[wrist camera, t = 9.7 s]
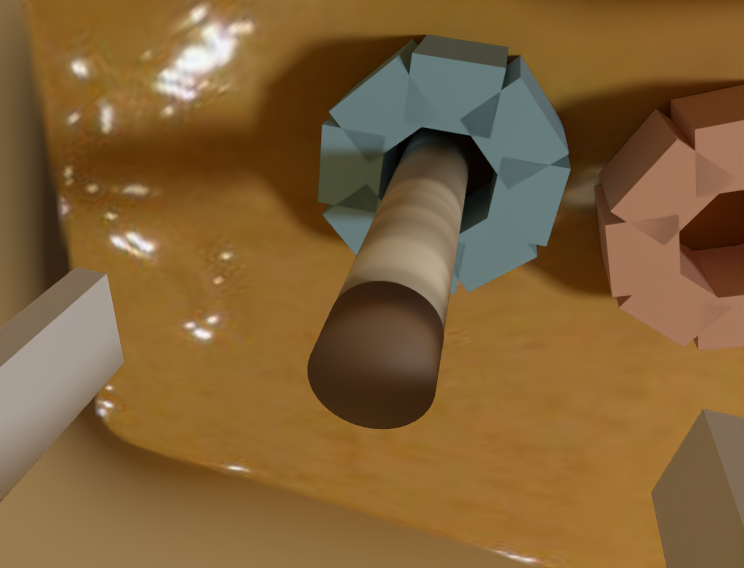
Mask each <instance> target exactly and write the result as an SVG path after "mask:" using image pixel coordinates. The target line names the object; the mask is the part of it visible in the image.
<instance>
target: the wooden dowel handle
mask: <svg viewBox="0 0 744 568" xmlns="http://www.w3.org/2000/svg"><path fill="white" fill-rule="evenodd" d="M470 161H471V146H470V143H469V140H468V138H467V137H466V135H465V134H459V133H453V132H448V131H442V130H436V129H431V128H425V127H421V128H419V129H418V130H416V131H415V132H414V133H413V135H412V136H411V138H410V140H409V142H408V144H407V146H406V149H405V151H404V153H403V155H402V157H401V160H400V162H399V164H398V166H397V168H396V171H395V173H394V175H393V177H392V179H391V181H390V184H389V186H388V188H387V190H386V192H385V195H384V197H383V199H382V201H381V203H380V206H379V208H378V210H377V212H376V214H375V217H374V219H373V221H372V223H371V225H370V228H369V230H368V232H367V234H366V236H365V239H364V241H363V243H362V245H361V247H360V250H359V252H358V254H357V256H356V258H355V261H354V263H353V265H352V267H351V269H350V271H349V274H348V276H347V278H346V280H345V282H344V285H343V287H342V289H341V291H340V293H339V296H338V298H337V300H336V302H335V303H334V305H333V307H332V309H331V311H330V313H329V316H328V318H327V320H326V322H325V324H324V327H323V329H322V331H321V333H320V335H319V338H318V340H317V342H316V344H315V346H314V348H313V351H312V353H311V355H310V358H309V361H308V367H307V369H308V379H309V382H310V385H311V388H312V390H313V392H314V394H315V395H316V397H317V398H318V399H319V400H320V402H321V403H322V404H323V405H324V406H325V407H326V408H327V409H328V410H330V411H331V412H332V413H334V414H335V415H337V416H338V417H340V418H342V419H344V420H346V421H348V422H350V423H353V424H355V425H359V426H362V427H367V428H373V429H392V428H398V427H402V426H405V425H408V424H410V423H412V422H414V421H416V420H417V419H419V418H420V417H422V416H423V415H424V414H425V413H426V412H427V411H428V409H429V408H430V406H431V404H432V403H433V400H434V397H435V392H436V386H437V379H438V373H439V366H440V359H441V353H442V346H443V340H444V328H445V322H446V316H447V309H448V303H449V296H450V290H451V283H452V277H453V270H454V264H455V258H456V251H457V245H458V238H459V232H460V225H461V219H462V213H463V206H464V200H465V193H466V187H467V180H468V174H469V167H470Z"/></svg>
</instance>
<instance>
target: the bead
mask: <svg viewBox="0 0 744 568" xmlns="http://www.w3.org/2000/svg"><path fill="white" fill-rule="evenodd" d="M507 55H508V47H503V46H496V45H490V44H483V43H477V42H470V41H464V40H458V39H451V38H445V37H438V36H432V35H427V36H426V37H425V38H424V39H423V40H422V42H421V43H420V44H419V45H417V44H416V42H415V41H414V39H412V40H411V41H410V42H408V43H407V44H406V45H405V46H403V47H402V48H401V49H400V50H398V51H397V52H396V53H395V54H394V55H392V56H391V57H390V58H389V59H387V60H386V61H385V62H384V63H382V64H381V65H380V66H379V67H377V68H376V69H375V70H374V71H372V72H371V73H370V74H369V75H368V76H366V77H365V78H364V79H363V80H361V81H360V82H359V83H358V84H356V85H355V86H354V87H353V88H352V89H351V90H350V91H349V92H348V93H347V94H346V95H345V96H344V97H343V98H342V99H341V100H340V101H339V102H338V103H337V104H336V105H335V106H334V107H333V108H332V109H331V110H330V111H329V113H330V114H331V116H330V117H329V118H328V119H327V120H326V121H325V122H324V123H323V124H322V137H321V154H320V171H319V188H318V202H321V203H326V204H329V205H328V206H327V208H326V209H325V211H324V212H323V214H322V215H323V216H324V217H325V219H326V220H327V221H328V222H329V223H330V225H331V226H332V227H333V228H334V229H335V231H336V232H337V233H338V234H339V235H340V237H341V238H342V239H343V240H344V241H345V243H346V244H347V245H348V246H349V247H350V249H351V250H352V251H353V252H354V253H355V255H356V256H357V254H358V252H359V250H360V247H361V245H362V243H363V241H364V239H365V236H366V234H367V232H368V230H369V228H370V225H371V223H372V221H373V219H374V217H375V214H376V212H377V210H378V208H379V206H380V203H381V201H382V199H383V197H384V195H385V192H386V190H387V188H388V186H389V184H390V181H391V179H392V177H393V175H394V173H395V171H396V168H397V165H396V164H395V162H396V155H397V147H398V143H400V142H401V141H402V140H404V139H405V138H407V137H408V136H409V135H411V134H412V133H414V132H415V131H416V130H418V129H419V128H421V127H425V128H431V129H436V130H442V131H448V132H453V133H459V134H465V135H471V137H472V138H473V140H474V141H475V143H476V144H477V145H478V147H479V148H480V150H481V151H482V153H483V154H484V155H485V157H486V158H487V160H488V161H489V163H490V164H491V166H492V167H493V168H494V173H493V177H492V181H491V182H490V183H488V184H486V185H485V186H483V187H482V188H480V189H478V190H477V191H475V192H473V193H472V194H470V195H468V196H467V197H465V200H464V206H463V213H462V219H461V225H460V232H459V238H458V245H457V251H456V258H455V264H454V270H453V277H452V283H451V290H450V293H453V294H455V292H456V287H457V283H458V279H459V281H460V282H461V283H462V285H463V286H464V287H465V288H466V290H467V291H468V292H470V291H472V290H474V289H476V288H478V287H480V286H482V285H484V284H486V283H488V282H489V281H491V280H493V279H495V278H497V277H499V276H501V275H503V274H505V273H507V272H509V271H511V270H513V269H515V268H517V267H519V266H521V265H522V264H524V263H526V262H528V261H530V260H532V259H534V258H536V257H537V246H536V245H541V246H547V243H548V240H549V237H550V233H551V230H552V227H553V224H554V221H555V218H556V214H557V211H558V208H559V205H560V202H561V199H562V195H563V192H564V189H565V186H566V183H567V180H568V176H569V173H570V170H571V167H570V162H569V157H568V154H569V151H568V146H567V141H566V137H565V132H564V127H563V122H562V121H561V119H560V118H559V116H558V114H557V113H556V111H555V110H554V108H553V106H552V105H551V103H550V102H549V100H548V98H547V97H546V95H545V94H544V92H543V91H542V89H541V87H540V86H539V84H538V83H537V81H536V79H535V78H534V76H533V75H532V73H531V71H530V70H529V68H528V67H527V65H526V63H525V62H524V60H523V59H522V57H521V55H520V56H519V57H518V58H516V59H515V60H513V61H512V62H511V63H509V64H508V65H507Z"/></svg>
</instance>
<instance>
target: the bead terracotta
mask: <svg viewBox="0 0 744 568" xmlns="http://www.w3.org/2000/svg"><path fill="white" fill-rule="evenodd" d="M670 101H671V119H670V118H669V117H667V116H666V115H664V114H663V113H661V112H660V111H658V110H657V109H655V110H654V111H653V112H652V113H651V114H650V116H649V117H648V118H647V119H646V120H645V121H644V122H643V124H642V125H641V126H640V127H639V128H638V129H637V131H636V132H635V133H634V134H633V135H632V136H631V137H630V139H629V140H628V141H627V142H626V143H625V144H624V146H623V147H622V148H621V149H620V150H619V151H618V152H617V154H616V155H615V156H614V157H613V158H612V159H611V160H610V162H609V163H608V164H607V165H606V166H605V167H604V169H603V170H602V171H601V172H600V173H599V176H600V179H601V183H602V185H600V186H595V197H596V207H597V216H598V226H599V236H600V245H601V253H602V257H603V262H604V266H605V270H606V274H607V278H608V282H609V286H610V290H611V294H612V297H617V301H618V305H619V308H620V309H622V310H624V311H625V312H627V313H629V314H630V315H632V316H633V317H635V318H637V319H638V320H640V321H642V322H643V323H645V324H646V325H648V326H650V327H651V328H653V329H655V330H656V331H658V332H659V333H661V334H663V335H664V336H666V337H668V338H669V339H671V340H672V341H674V342H676V343H677V344H679V345H681V346H682V347H684V346H686V345H687V344H688V343H689V342H691V341H692V340H693V339H694V341H695V344H696V346H697V349H698V350H709V349H721V348H734V347H744V242H743V243H742V244H741V245H734V246H727V247H719V248H711V249H704V250H696V251H693V250H692V249H690V248H688V247H687V246H685V245H684V244H682V243H681V242H679V231H680V230H682V229H683V228H684V227H685V226H686V225H687V224H688V223H689V222H690V221H691V220H692V219H693V218H694V217H695V216H696V215H697V214H698V213H699V212H700V211H701V210H702V209H703V208H704V207H705V206H706V205H708V204H709V203H710V202H711V201H712V200H713V199H714V198H715V197H716V196H717V195H718V194H720V193H726V192H733V191H739V190H744V85H739V86H735V87H730V88H725V89H720V90H715V91H711V92H706V93H701V94H696V95H691V96H687V97H682V98H677V99H672V100H670Z"/></svg>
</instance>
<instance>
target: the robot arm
mask: <svg viewBox="0 0 744 568" xmlns="http://www.w3.org/2000/svg"><path fill="white" fill-rule="evenodd" d="M123 363H124V360H123V355H122V350H121V345H120V339H119V334H118V329H117V324H116V319H115V314H114V309H113V304H112V299H111V293H110V288H109V283H108V278H107V274H105V273H101V272H96V271H92V270H88V269H83V268H79V267H76V268H75V269H73V270H72V271H71V272H70V273H68V274H67V275H66V276H65V277H63V278H62V279H61V280H60V281H58V282H57V283H56V284H55V285H53V286H52V287H51V288H50V289H48V290H47V291H46V292H45V293H43V294H42V295H41V296H40V297H39V298H37V299H36V300H35V301H34V302H32V303H31V304H30V305H29V306H27V307H26V308H25V309H24V310H23V311H21V312H20V313H19V314H17V315H16V316H15V317H14V318H12V319H11V320H10V321H9V322H7V323H6V324H5V325H4V326H2V327H1V328H0V502H1V501H2V500H3V499H4V498H5V497H6V496H7V495H8V494H9V492H10V491H11V490H12V489H13V488H14V487H15V486H16V485H17V483H18V482H19V481H20V480H21V479H22V478H23V477H24V475H25V474H26V473H27V472H28V471H29V470H30V469H31V467H32V466H33V465H34V464H35V463H36V462H37V461H38V460H39V458H40V457H41V456H42V455H43V454H44V453H45V452H46V450H47V449H48V448H49V447H50V446H51V445H52V443H54V441H55V440H56V439H57V438H58V437H59V436H60V435H61V433H62V432H63V431H64V430H65V429H66V428H67V427H68V425H69V424H70V423H71V422H72V421H73V420H74V419H75V418H76V416H77V415H78V414H79V413H80V412H81V411H82V410H83V408H84V407H85V406H86V405H87V404H88V403H89V402H90V400H91V399H92V398H93V397H94V396H95V395H96V394H97V393H98V391H99V390H100V389H101V388H102V387H103V386H104V385H105V384H106V382H107V381H108V380H109V379H110V378H111V377H112V376H113V374H114V373H115V372H116V371H117V370H118V369H119V368H120V367H121V365H122V364H123ZM651 494H652V499H653V503H654V508H655V513H656V518H657V523H658V528H659V532H660V537H661V542H662V547H663V552H664V556H665V561H666V566H667V568H744V418H742V417H737V416H733V415H729V414H724V413H720V412H715V411H711V410H707V409H703V410H702V411H701V413H700V415H699V416H698V418H697V419H696V421H695V423H694V424H693V426H692V428H691V429H690V431H689V432H688V434H687V436H686V437H685V439H684V440H683V442H682V444H681V445H680V447H679V449H678V450H677V452H676V453H675V455H674V457H673V458H672V460H671V461H670V463H669V465H668V466H667V468H666V470H665V471H664V473H663V474H662V476H661V478H660V479H659V481H658V482H657V484H656V486H655V487H654V489H653V491H652V492H651Z"/></svg>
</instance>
